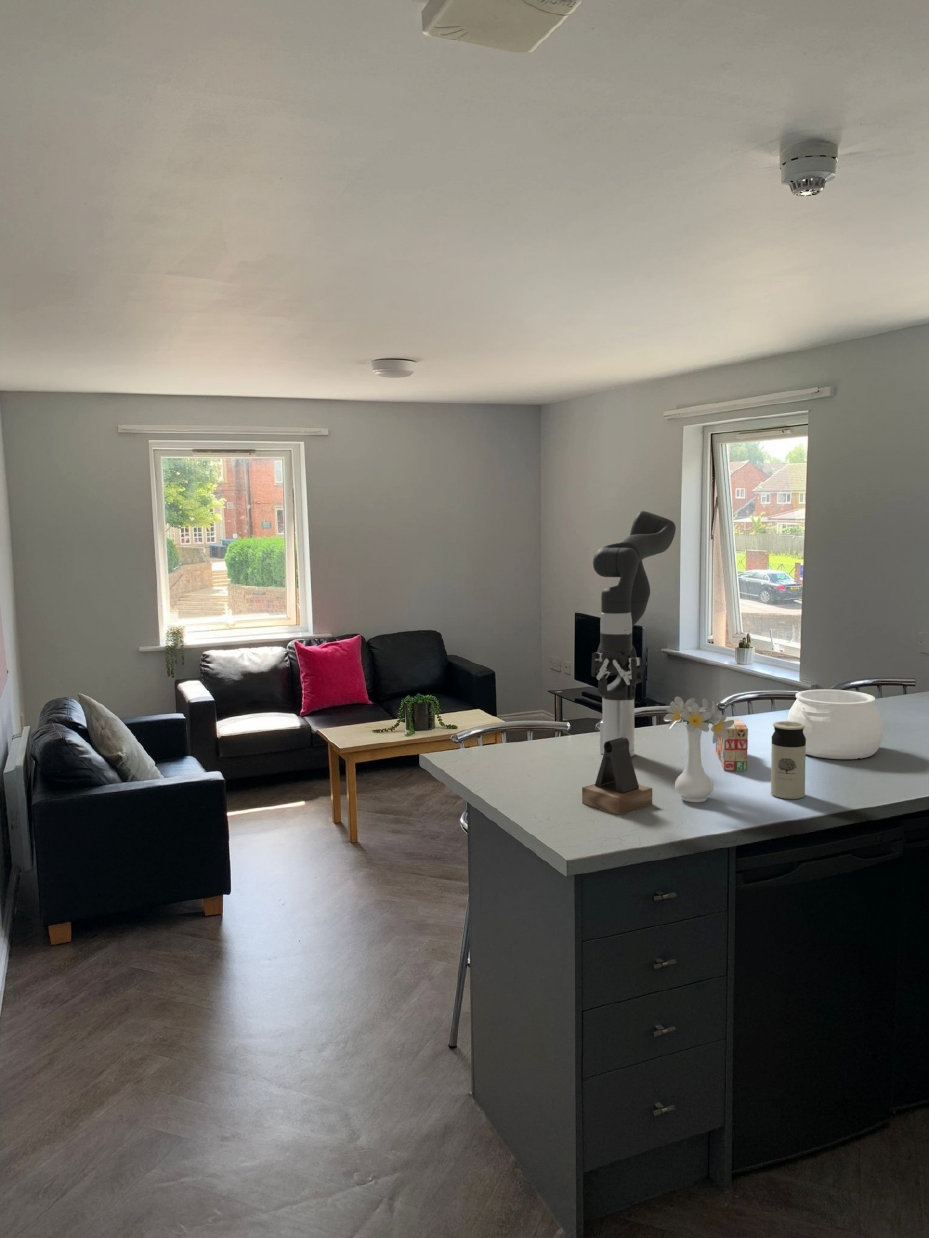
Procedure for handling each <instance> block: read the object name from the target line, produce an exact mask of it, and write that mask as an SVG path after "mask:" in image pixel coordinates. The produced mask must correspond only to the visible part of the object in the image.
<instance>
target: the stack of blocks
mask: <svg viewBox="0 0 929 1238" xmlns="http://www.w3.org/2000/svg"><path fill="white" fill-rule="evenodd" d="M729 720H734V724H733V725H732V726H731V727H729V728H726V729H725V730H726V731H727V732H728V735H729V737H728V739H727V740H724V739H722V737H721V736H720V735H719V734H718V735H719V738H718V740H717V742H716V743H715V753H716V755H717V757H718V760H719V762H720V764H721V767H722V769H723V772H748V749H749V747H748V746H749V743H748V742H749V739H748V738H749V727H748V726H747V724H746V723H745V722H744V721H743V719H742V718H740V717H739V718H737V717H735V718H732V717H730V718H729V717H728V718H727V717H726V720H725V721H729ZM725 721H723V722H725Z"/></svg>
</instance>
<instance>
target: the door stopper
mask: <svg viewBox="0 0 929 1238" xmlns="http://www.w3.org/2000/svg"><path fill="white" fill-rule="evenodd" d="M602 755H603V754H602ZM634 767H635V766H634V763H633V760H632V757H631V756H630V752H629V741H628V739H627V738H624V739H623V737H622V738H618V739H614V740H611V741H607V742H605V743H604V755H603V756H602V760H601V763H600V766H599V769H598V773H597V776H596V780H595V783H594V784H595V786H596V787H599V788H603V789H607V790H610V791H614V792H617V793H621V794H623V793H626V792H629V791H633V790H636V789H639V785H640V784H639V782H638V779H637V776H636V770H635V768H634ZM638 784H639V785H638Z"/></svg>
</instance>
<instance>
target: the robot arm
mask: <svg viewBox="0 0 929 1238" xmlns="http://www.w3.org/2000/svg"><path fill="white" fill-rule="evenodd" d="M676 528H677V526H676V523H675V522H674V521H672V520H671V519H669V518H667V517H663V516H660V515H658V514H655V513H652V512H649V511H645V510H641V511H639V512H638V513H637V514H636V515H635V518H634V519H633V521H632V525H631V527H630V532H629V535H628V536H626V537H624V538H623V539H622V540H621V539H620V541H619V542H615V543H612V544H608V545H607V544H606V545H605V546H602V547H600V548H599V549H598V550H597V551H596V552H595V554H594V556H593V560H592V565H593V570H594V571H595V574H597V575H599V576H600V577H603V578H619V581H618V584H617V585H615V586H609V587H606V588H603V589H602V591H601V595H600V596H601V597H600V603H601V604H600V605H601V606H600V609H601V611H600V612H601V613H600V614H601V615H600V623H599V625H600V628H599V629H600V631H599V632H600V637H599V639H600V641H599V645H598V648H597V651H596V652H592V653H591V669H590V670H591V672H590V673H591V675H590V676H591V677H594V678H596V679H597V691H598V695H599V696H602V699H601V700H602V702H601V703H602V705H601V706H602V721H600V723H599V739H600V740H599V747H600V749H599V753H600V754H602V755H604V743H605V742H607V741H611V740H614V739H618V738H622V737H623V739H624V738H627V739H628V741H629V752H630V756H631V758H632V757H634V756H635V698H636V688H637V684H638V683H642V682H643V666H642V665H643V664H642V662H643V661H642V658H641V657H640V656H638V657H637V651H636V648H635V646H634V645H633V627H634V626H635V625H636V624H637V623H638V622H639V620H641V618H643V617H642V616H644V614H645V612H646V610H647V607H648V603H649V599H650V595H651V586H650V582H649V579H648V578H649V577H648V575H647V573H646V569H645V567H644V564H643V563H644V562H643V560H644V559H646V558H649V557H652V556H655V555H659V554H662V553H664V552H666V551H667V550H668V549H669V548H670V546H671V545H672V542H673V541H674V538H675V535H676V532H677V531H676ZM609 676H616V677H615V679H614V680H613V681H612V682H611V683H608V679H607V678H608V677H609Z"/></svg>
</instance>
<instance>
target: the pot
mask: <svg viewBox="0 0 929 1238" xmlns="http://www.w3.org/2000/svg"><path fill="white" fill-rule="evenodd" d="M795 698H796V700H795V701H794V703H793V704H792V705H791V707H790V708H789V711H788V713H787V714H788V715H787V719H786V721H792V722H799V723H802V724H804V725H805V727H804V729H803V734H804V736H805V738H806V755H808V756H811V757H815V758H820V759H821V758H822V759H830V760H859V759H858V758H860V759H865V758H868V757H872V756H874V755H875V753H877V751H878V750H879V748H880V746H881V745H882V743H883V738H884V731H885V730H884V729H885V728H884V721H883V719H882V715H881V713H880V711H879V709H878V707H877V706H876V704H875V701H876V697H875V695H872V694H868V693H865V692H860V691H854V690H843V689H809V690H808V689H807V690H802V691H799V692H796V693H795Z"/></svg>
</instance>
